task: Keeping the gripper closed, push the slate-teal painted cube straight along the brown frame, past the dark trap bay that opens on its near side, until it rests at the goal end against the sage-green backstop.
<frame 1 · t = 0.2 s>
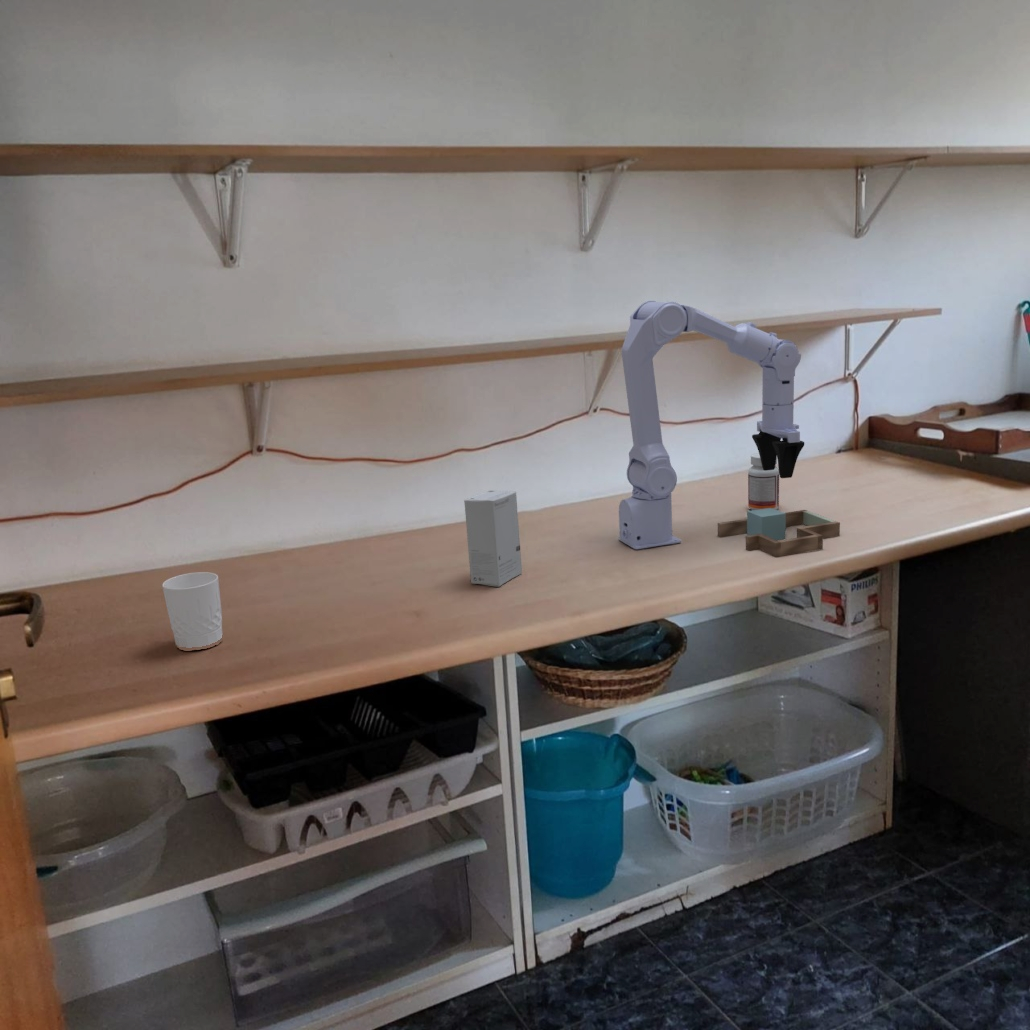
hand: (777, 473, 187), 10 cm above the worktop, fingers open, 7 cm apart
pill bottle: (763, 509, 200), on the worktop
white cup: (200, 644, 145), on the worktop
brown frame: (777, 535, 181), on the worktop
teal block: (766, 538, 180), on the worktop
skincare box: (496, 579, 167), on the worktop
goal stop: (819, 529, 183), on the worktop
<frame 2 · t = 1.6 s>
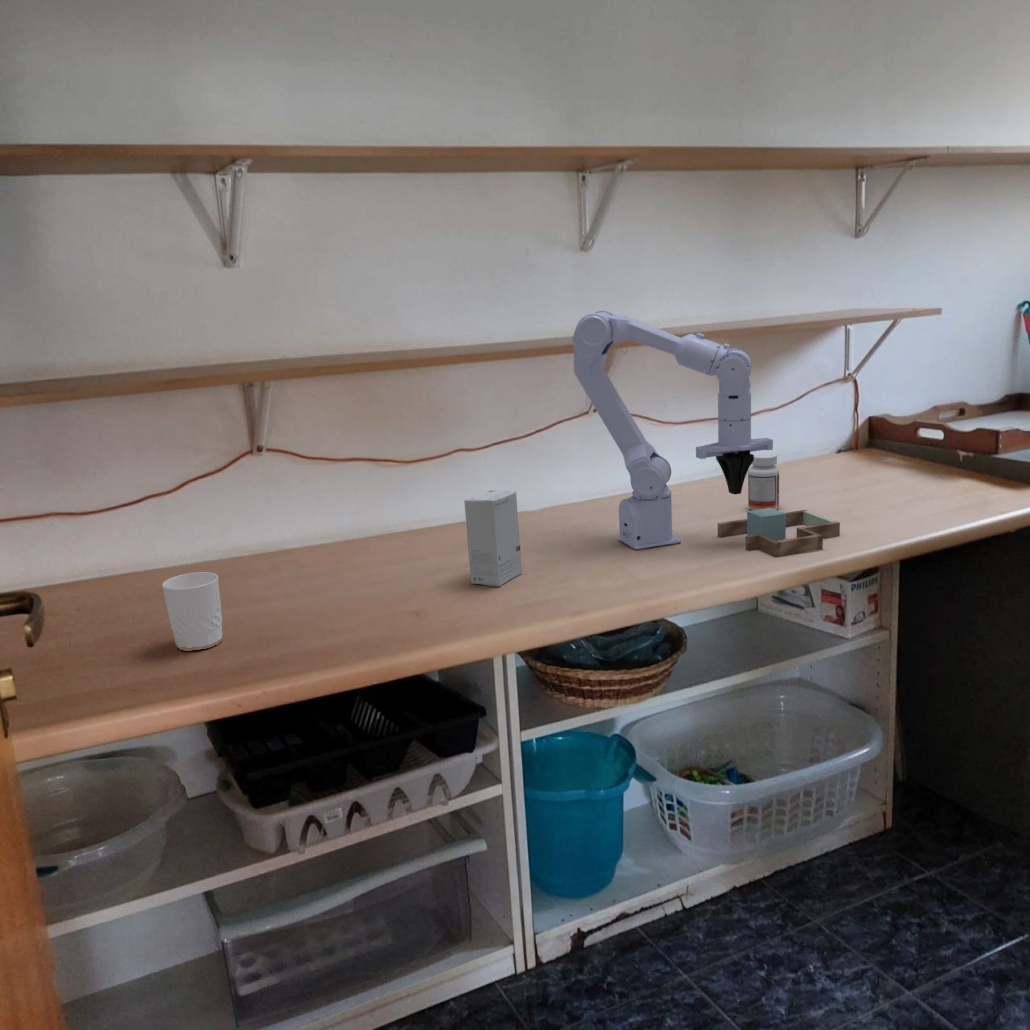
hand: (734, 493, 176), 9 cm above the worktop, fingers closed
nothing on the worktop moved.
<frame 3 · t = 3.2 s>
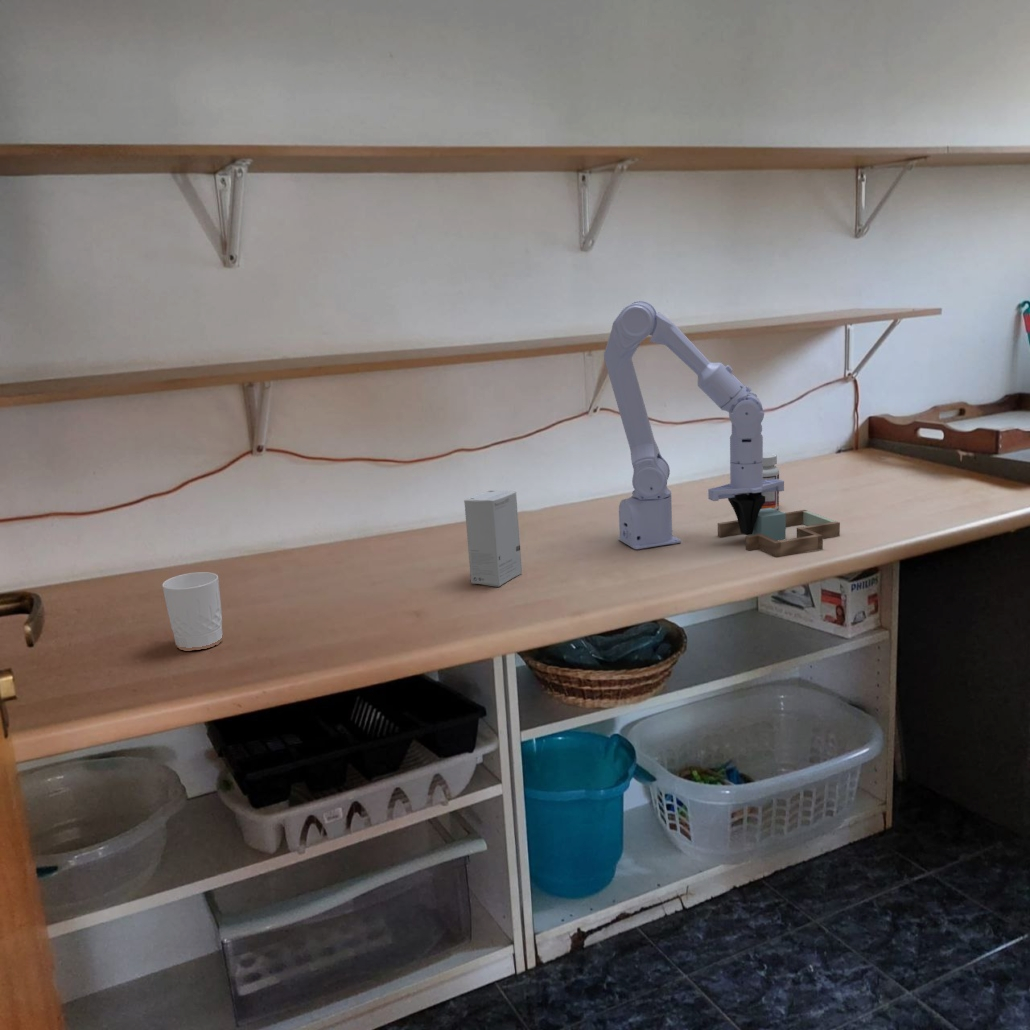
hand: (746, 533, 179), 1 cm above the worktop, fingers closed
teal block: (766, 538, 180), on the worktop, touching gripper
everything else where it was.
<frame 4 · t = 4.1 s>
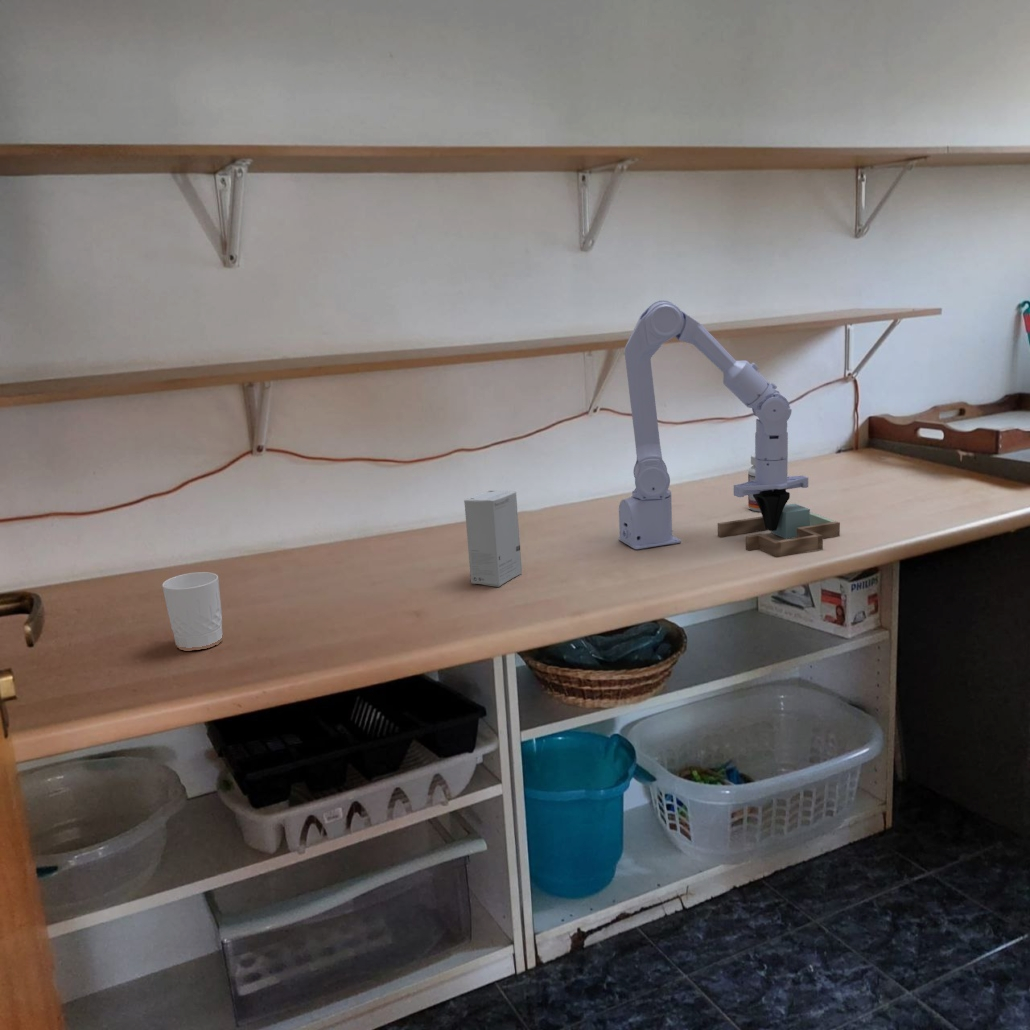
hand: (771, 529, 180), 1 cm above the worktop, fingers closed
teal block: (790, 533, 181), on the worktop, touching gripper
everything else where it was.
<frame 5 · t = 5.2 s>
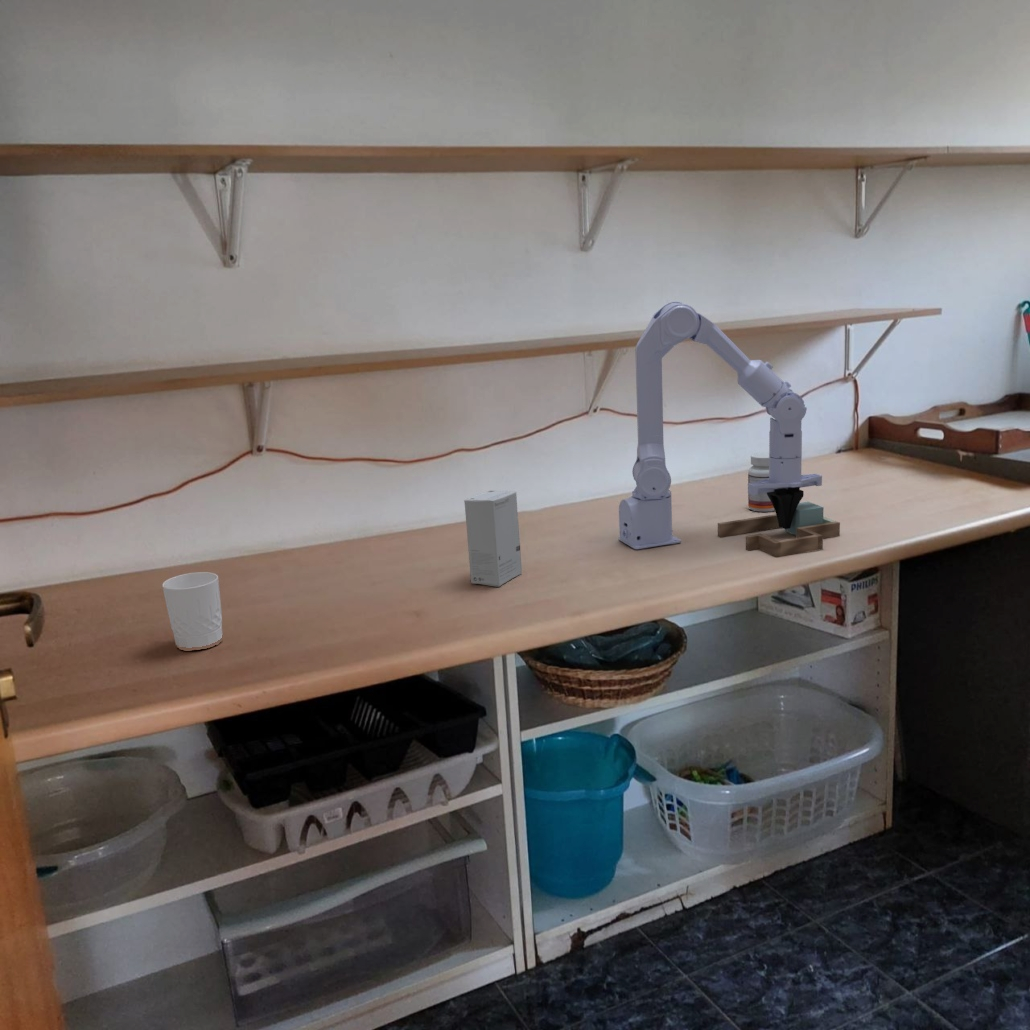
hand: (784, 527, 181), 1 cm above the worktop, fingers closed
teal block: (803, 531, 182), on the worktop, touching gripper
everything else where it was.
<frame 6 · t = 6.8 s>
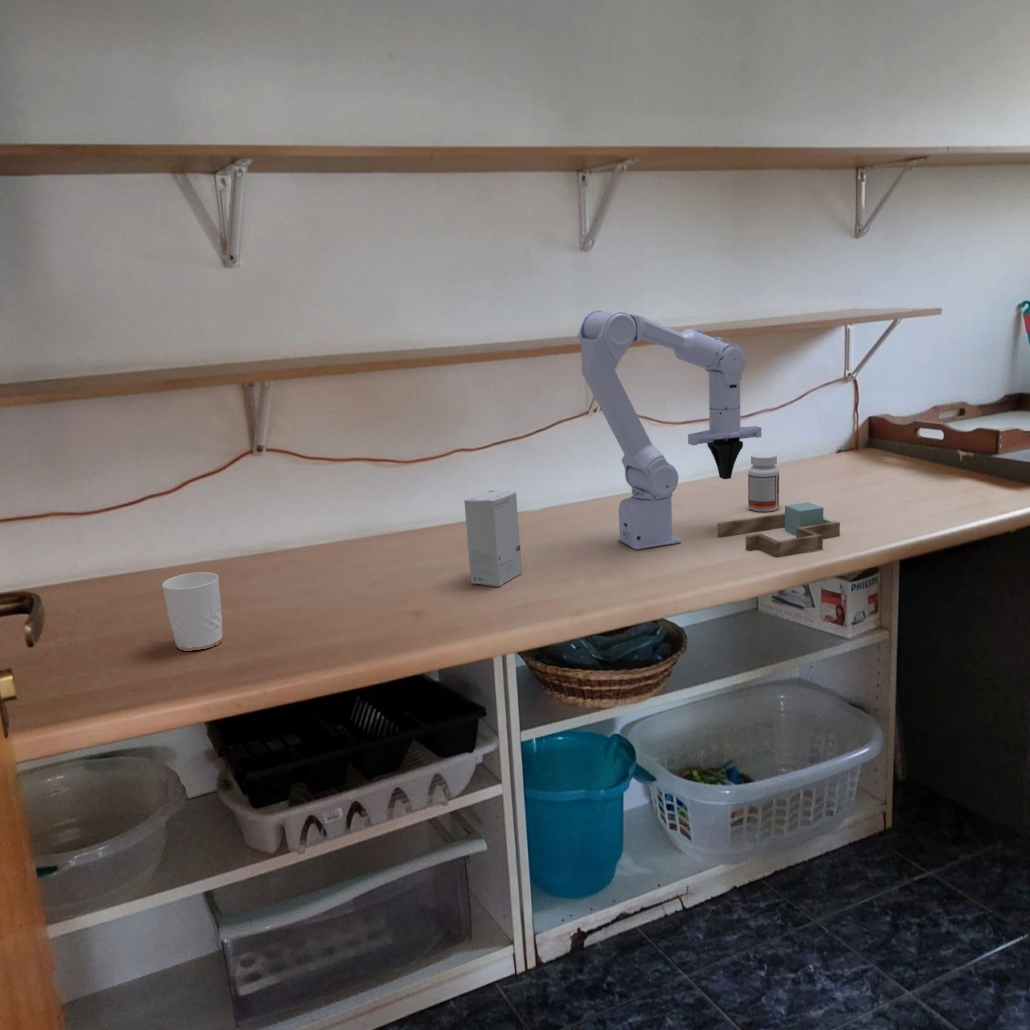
hand: (725, 478, 186), 10 cm above the worktop, fingers closed
teal block: (803, 532, 182), on the worktop
everything else where it was.
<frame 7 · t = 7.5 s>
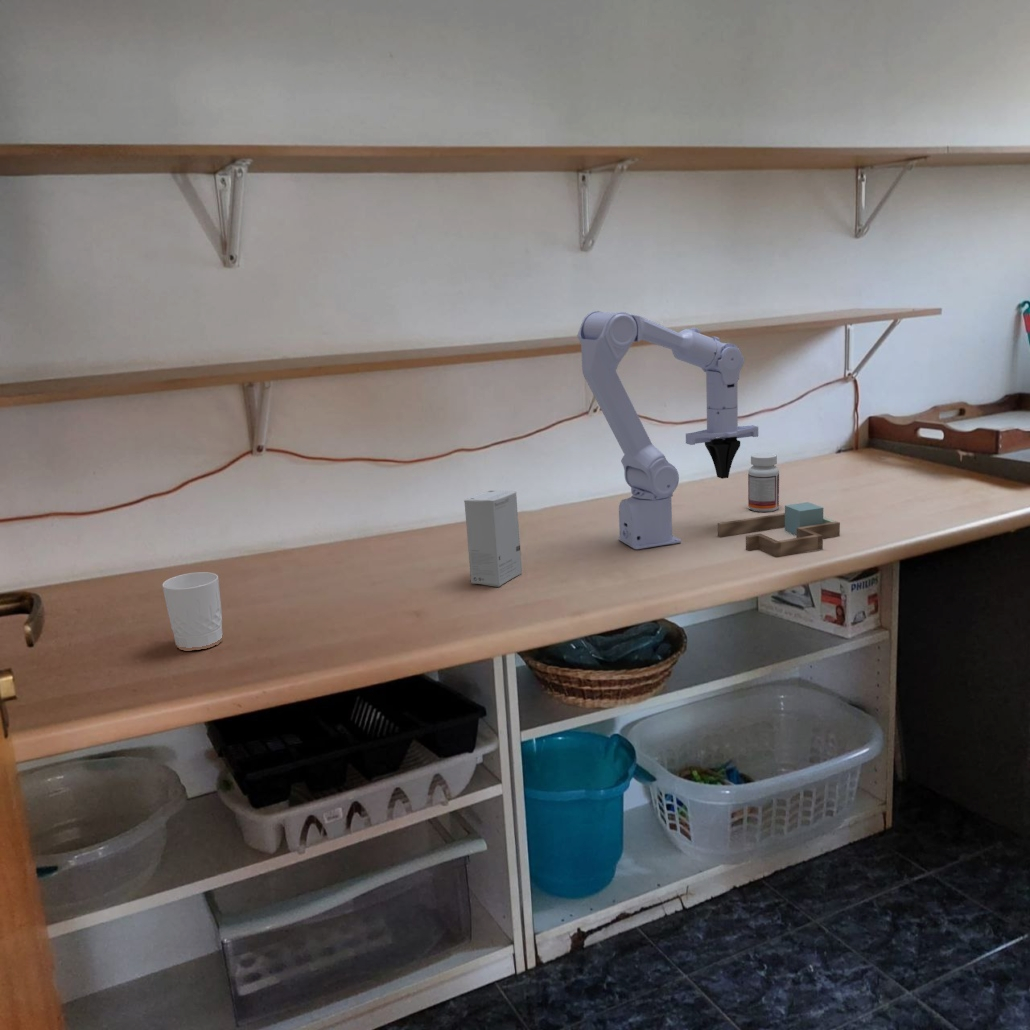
hand: (722, 477, 186), 10 cm above the worktop, fingers closed
nothing on the worktop moved.
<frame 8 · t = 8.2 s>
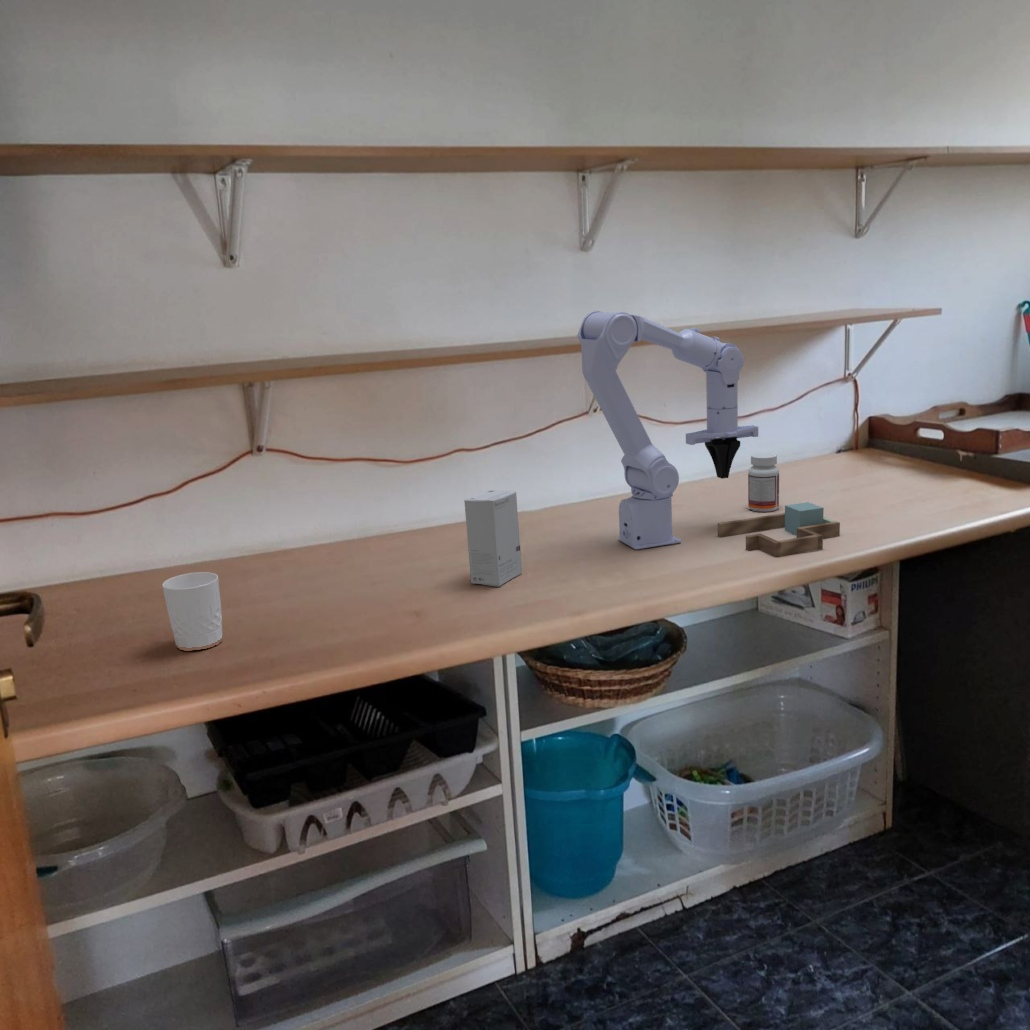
hand: (722, 477, 186), 10 cm above the worktop, fingers closed
nothing on the worktop moved.
at the end: teal block inside the target area (0.4 cm from its centre), on the worktop; teal block tilted 0°; teal block moved 8.1 cm from its start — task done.
